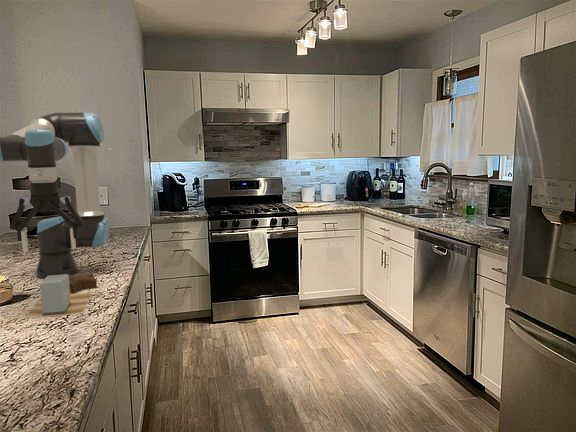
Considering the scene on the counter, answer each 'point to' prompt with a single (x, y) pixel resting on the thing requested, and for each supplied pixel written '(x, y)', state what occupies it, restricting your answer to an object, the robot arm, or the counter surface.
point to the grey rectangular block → (55, 294)
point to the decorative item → (81, 282)
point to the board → (75, 308)
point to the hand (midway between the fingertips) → (50, 250)
